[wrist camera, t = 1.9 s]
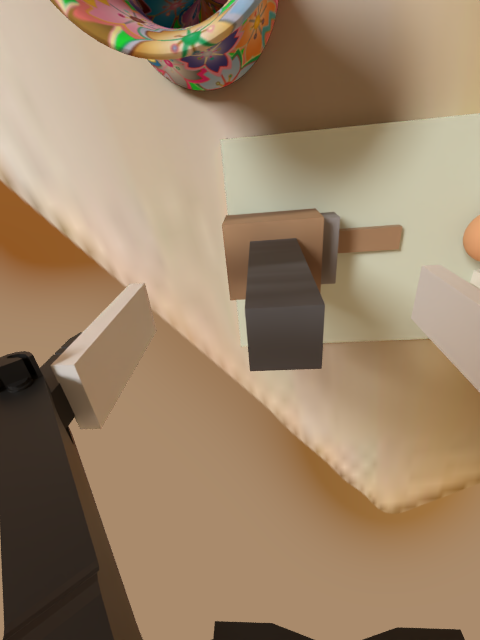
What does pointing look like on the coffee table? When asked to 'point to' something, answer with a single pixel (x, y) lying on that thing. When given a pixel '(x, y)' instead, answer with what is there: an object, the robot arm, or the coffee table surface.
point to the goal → (476, 278)
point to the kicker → (282, 282)
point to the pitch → (369, 210)
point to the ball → (473, 239)
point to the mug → (181, 34)
